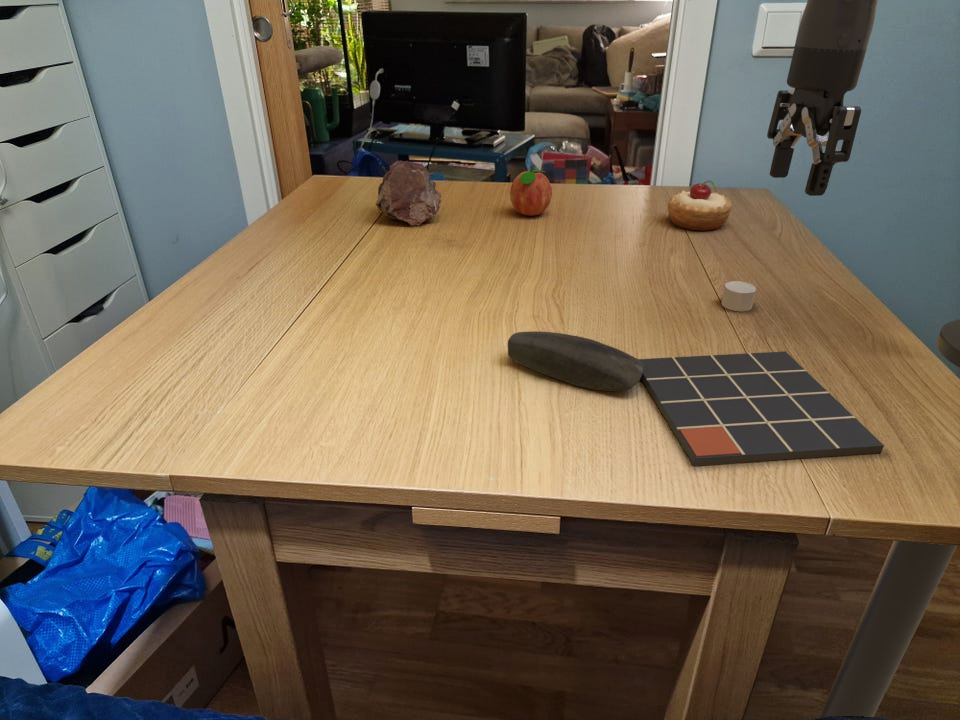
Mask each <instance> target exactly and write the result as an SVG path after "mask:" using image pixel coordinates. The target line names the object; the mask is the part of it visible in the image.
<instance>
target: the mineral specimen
mask: <svg viewBox="0 0 960 720" xmlns="http://www.w3.org/2000/svg"><path fill="white" fill-rule="evenodd" d="M436 184H437V183H436V182H435V181H433V180H432V179H431V178H430V172H429V171H428V168H426V167H425V164H423V163H419V162H414V161H411V162H410V161H409V160H405V161H404V160H397V161H396V163H395V164H391V165H390V167H389V170H388V171H386V172H385V174H384V175H383V178H382V182H381V183H379V185H378V190H377V195H378V196H377V200H376V201H375V204H374V205H375V206H376V207H377V209H378V210H379V211H380V212H381V213H382V214H384V215H385V216H386V217H387V218H389V219H393V220H399V221H403V222H406V223H407V224H408V225H410V226H413V227H414V226H417V227H420V226H421V225H422V223H423V222H425V221H426V220H427V219H430V218H433V217H435V216H436V214H437V213H439V211H440V208H441V206H440V204H441V202H442V200H441V198H442V193H441V192H440V191H438V190H437V189H436V187H437V185H436Z"/></svg>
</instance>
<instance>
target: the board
mask: <svg viewBox="0 0 960 720" xmlns="http://www.w3.org/2000/svg"><path fill="white" fill-rule="evenodd" d="M638 359H639V360H640V361H642V362H643V363H644V364H645V365H644V370H643V373H642V376H641V378H640V380H641V382H642V384H643V385H644V386H645V388H646V390H647V392H648V393H649V395H650V396H651V398H652V400H653V402H654V403H655V404H656V406H657V408H658V410H659V412H660V413H661V414H662V416H663V418H664V419H665V422H666V423H667V425H668V426H669V428H670V429H671V431H672V433H673V434H674V436H675V437H676V439H677V440H678V443H679V444H680V446H681V448H682V449H683V451H684V452H685V454H686V456H687V457H688V459H689V461H690V462H691V464H692V465H693V466H694V467H696V466H697V467H699V466H710V465H711V466H712V465H723V464H724V465H725V464H726V465H727V464H739V463H753V462H755V463H756V462H768V461H783V460H795V459H797V460H798V459H813V458H826V457H827V458H828V457H840V456H841V457H842V456H843V457H844V456H856V455H869V454H881V453H882V452H883V449H884V447H885V445H884V443H882V442H881V441H880V440H879V439H878V438H877V437H876V436H875V435H874V434H873V433H872V432H871V431H870V430H869V429H868V428H867V427H865V425H864V424H862V422H860V421H859V420H858V419H857V417H856V415H853V414H852V413H851V412H850V411H849V410H848V409H846V408H845V406H844V405H842V403H840V402H839V401H838V400H837V399H836V398H835V396H833V395H832V394H831V392H830V391H828V390H827V389H826V388H825V387H824V386H822V385H821V383H820V382H818V381H817V379H815V378H814V377H813V376H812V375H811V374H810V373H809V372H808V370H807V369H805V368H804V367H802V365H801V364H799V363H798V362H797V361H796V359H794V358H793V357H792V356H791V355H790V354H789V353H788V352H787V351H783V350H782V351H767V352H766V351H765V352H751V351H750V352H749V351H748V352H747V353H731V354H712V353H710V354H709V355H692V356H670V357H656V358H638Z"/></svg>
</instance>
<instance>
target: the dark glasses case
mask: <svg viewBox="0 0 960 720" xmlns="http://www.w3.org/2000/svg"><path fill="white" fill-rule="evenodd" d="M507 355H508V357H509V358H510V359H511V360H513V361H514V362H516V363H518V364H519V365H521V366H525V367H527V368H529V369H531V370H534V371H536V372H539V373H541V374H544V375H546V376H549V377H551V378H553V379H557V380H560V381H562V382H565V383H567V384H571V385H574V386H577V387H581V388H585V389H591V390H595V391H603V392H604V391H611V392H618V391H627V390H629V389H632V388H634V387H635V386H636V385H637V384H638V383H639V381H640V380H641V376H642V373H643V370H644V365H645V364H644V363H643V362H642V361H640V360H639V359H640V358H636V357H635V356H633V355H631V354H629V353H627V352H626V351H623V350H621V349H618V348H616V347H613V346H611V345H608V344H605V343H603V342H600V341H597V340H594V339H591V338H586V337H583V336H579V335H574V334H567V333H560V332H551V331H540V330H539V331H536V330H535V331H534V330H533V331H530V330H529V331H518V332H515V333H512V334H511V335H510V337H509V338H508V340H507Z"/></svg>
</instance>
